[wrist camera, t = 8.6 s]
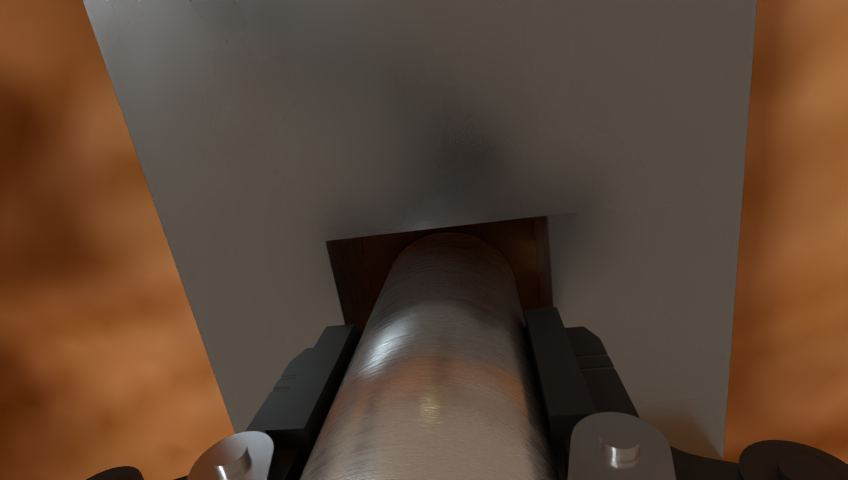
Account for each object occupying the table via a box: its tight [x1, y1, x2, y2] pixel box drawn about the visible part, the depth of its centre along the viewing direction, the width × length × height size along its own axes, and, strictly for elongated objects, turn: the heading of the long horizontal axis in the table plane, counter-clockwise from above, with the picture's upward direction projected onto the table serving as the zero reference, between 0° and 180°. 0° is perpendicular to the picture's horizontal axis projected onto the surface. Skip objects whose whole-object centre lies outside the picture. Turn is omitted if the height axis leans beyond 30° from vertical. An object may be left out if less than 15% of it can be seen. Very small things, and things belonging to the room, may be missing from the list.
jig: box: [83, 0, 757, 461], centre depth 12 cm, size 16×14×5 cm
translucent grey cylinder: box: [300, 232, 560, 480], centre depth 9 cm, size 4×4×10 cm
